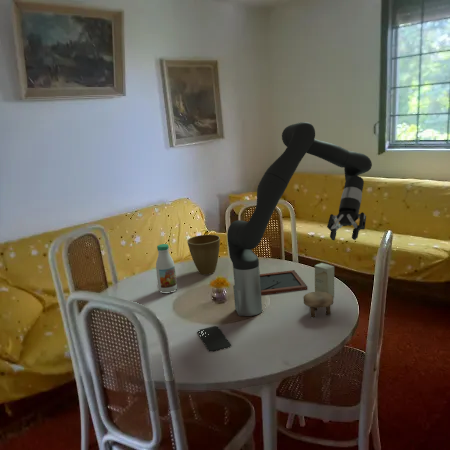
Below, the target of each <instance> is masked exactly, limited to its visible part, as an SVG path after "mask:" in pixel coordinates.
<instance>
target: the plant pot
mask: <svg viewBox="0 0 450 450" xmlns="http://www.w3.org/2000/svg"><path fill="white" fill-rule="evenodd" d="M220 241H221V237H220V236H219V235H217V234H199V235H194V236H192V237H190V238H188V239H187V240H186V243H187V246H188V249H189V253H190V256H191V258H192V261H193V264H194V265H195V267H196V269H197V271H198V273H199V274H200V275H204V276H205V275H212V274H214V273H215V271H216V269H217V265H218V260H219V255H220V245H221V243H220Z"/></svg>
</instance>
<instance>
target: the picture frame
mask: <svg viewBox="0 0 450 450" xmlns="http://www.w3.org/2000/svg"><path fill="white" fill-rule="evenodd" d="M260 286H261V296H262V295H264V296H265V295H271V294H279V293H280V294H281V293H288V292H296V291H304V290H308V285H307V284H306V283H305V282H304V280H303V279H302V278H301V276H300V275H299V274H298V273H297V272H296V271H295V269H294V270H293V269H292V270H283V271H276V272H268V273H260Z"/></svg>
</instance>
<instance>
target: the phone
mask: <svg viewBox="0 0 450 450" xmlns="http://www.w3.org/2000/svg"><path fill="white" fill-rule="evenodd" d="M199 330H200V331H198V330H197V331H198V332H197V334H198V333H199V332H200V333H199V335H201V338H202V339H201V338H200V339H201V340H203V341H202V343H203V342H204V343H205V344H204V343H203V344H204V346H205V345H206V346H205V348H206V347H207V348H206V349H207V350H209V351H208V352H210V351H213V352H217V351H221V350H220V349H222V350H225V349H224V348H226V349H228V347H229V348H231V347H232V344H231V342H230V341H229V340H228V338H227V337H226V335H225V334H224V333H223V331H222V330H221V329H220V328H219V326H215V325H214V326H210V327H206V328H201V329H199ZM203 330H204V331H203ZM201 331H203V333H204V335H203V336H202V334H203V333H202V334H201ZM205 332H206V334H205ZM208 334H209V335H208ZM199 335H198V336H199ZM205 336H206V337H205ZM230 346H231V347H230ZM216 350H217V351H216Z"/></svg>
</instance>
